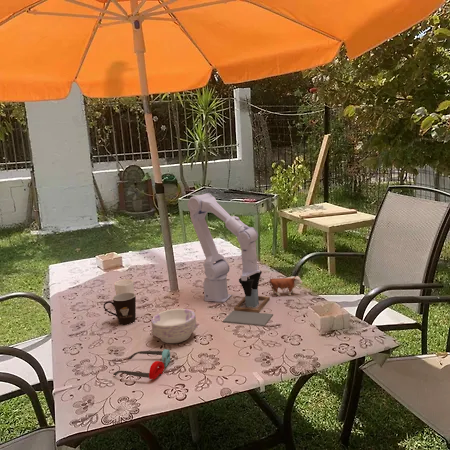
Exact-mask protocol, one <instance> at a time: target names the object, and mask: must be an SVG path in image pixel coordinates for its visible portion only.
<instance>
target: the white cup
mask: <svg viewBox="0 0 450 450" xmlns="http://www.w3.org/2000/svg"><path fill="white" fill-rule="evenodd" d="M113 284H114V291H115V295H118V294H121V293H134V294H135V282H134V279H127V278H126V279H120V280H117V281H114V283H113Z"/></svg>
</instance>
